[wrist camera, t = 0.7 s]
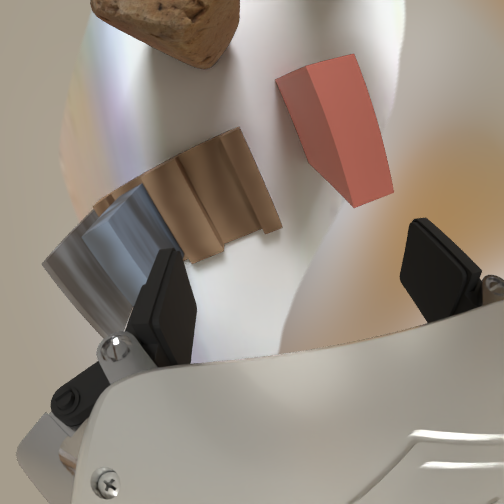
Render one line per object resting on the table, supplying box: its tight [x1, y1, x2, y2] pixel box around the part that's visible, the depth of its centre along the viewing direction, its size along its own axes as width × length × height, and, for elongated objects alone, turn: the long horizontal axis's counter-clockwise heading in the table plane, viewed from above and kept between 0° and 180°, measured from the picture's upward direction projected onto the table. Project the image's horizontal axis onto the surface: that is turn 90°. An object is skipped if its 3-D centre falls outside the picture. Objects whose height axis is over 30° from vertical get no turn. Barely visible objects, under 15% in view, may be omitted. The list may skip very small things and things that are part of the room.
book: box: [275, 54, 394, 208], centre depth 26 cm, size 4×12×16 cm, turn 23°
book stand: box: [42, 127, 283, 338], centre depth 31 cm, size 23×14×16 cm, turn 113°
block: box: [90, 0, 240, 69], centre depth 18 cm, size 11×8×20 cm
